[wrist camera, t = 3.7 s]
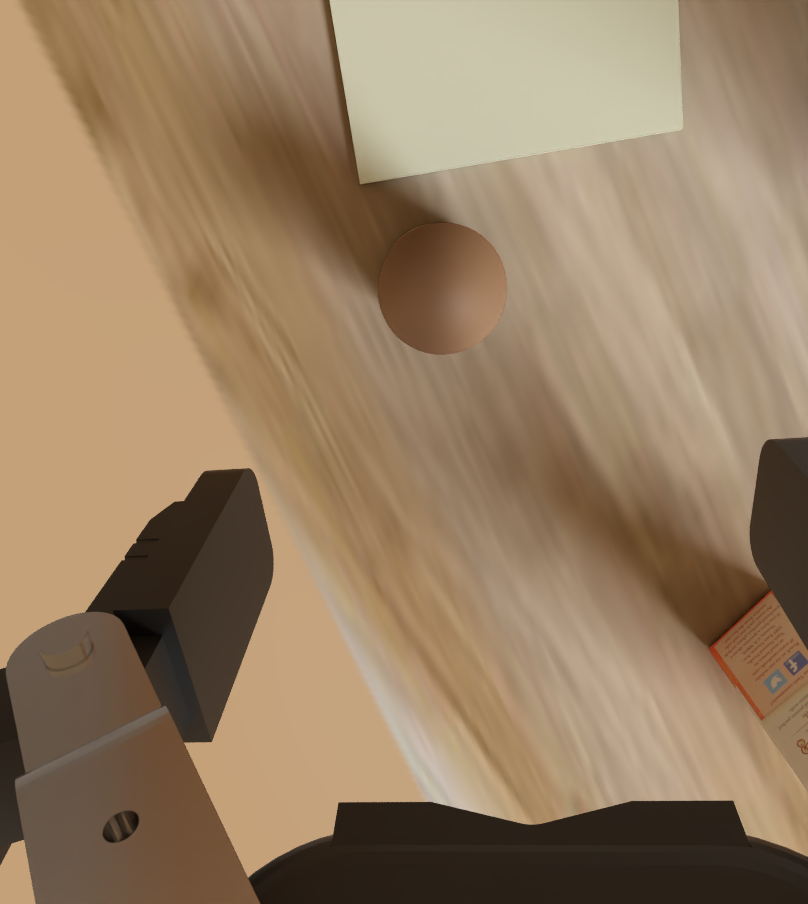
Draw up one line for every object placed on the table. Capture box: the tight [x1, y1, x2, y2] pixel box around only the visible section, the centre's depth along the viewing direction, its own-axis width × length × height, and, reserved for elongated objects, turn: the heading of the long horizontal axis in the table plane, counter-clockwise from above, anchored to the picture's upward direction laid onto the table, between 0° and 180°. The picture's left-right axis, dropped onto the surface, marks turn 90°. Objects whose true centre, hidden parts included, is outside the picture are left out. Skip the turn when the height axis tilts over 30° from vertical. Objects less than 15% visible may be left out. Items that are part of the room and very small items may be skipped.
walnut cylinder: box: [378, 223, 507, 355], centre depth 33 cm, size 5×5×9 cm
